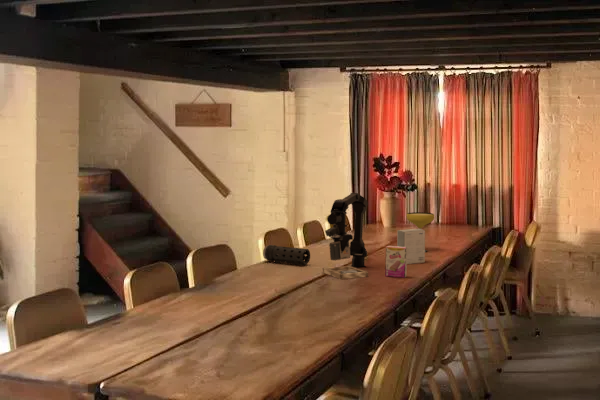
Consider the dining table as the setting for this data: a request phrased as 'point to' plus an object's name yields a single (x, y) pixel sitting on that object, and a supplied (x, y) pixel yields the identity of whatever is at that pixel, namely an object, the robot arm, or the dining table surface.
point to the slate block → (348, 271)
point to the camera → (339, 251)
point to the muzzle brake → (286, 255)
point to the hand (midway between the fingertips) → (339, 250)
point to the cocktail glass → (420, 219)
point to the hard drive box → (412, 244)
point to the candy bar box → (396, 261)
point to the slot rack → (337, 273)
